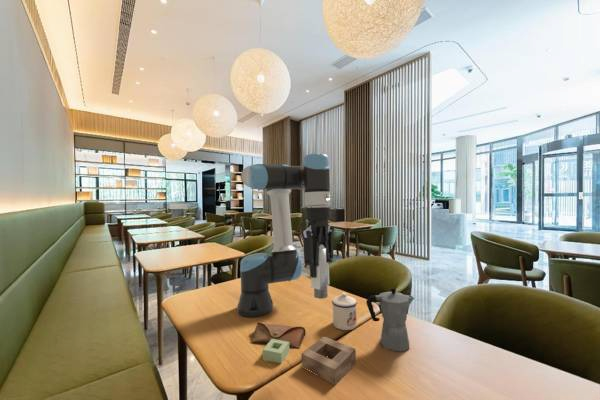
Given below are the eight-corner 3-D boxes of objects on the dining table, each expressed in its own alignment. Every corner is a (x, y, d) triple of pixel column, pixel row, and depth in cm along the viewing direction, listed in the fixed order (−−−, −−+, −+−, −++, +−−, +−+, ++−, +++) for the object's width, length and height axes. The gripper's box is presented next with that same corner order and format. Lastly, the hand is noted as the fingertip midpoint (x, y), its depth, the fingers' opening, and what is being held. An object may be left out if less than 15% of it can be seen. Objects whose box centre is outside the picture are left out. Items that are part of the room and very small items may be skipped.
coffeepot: (408, 334, 86) (407, 282, 86) (422, 351, 77) (421, 292, 77) (363, 336, 86) (362, 283, 86) (371, 353, 77) (370, 294, 76)
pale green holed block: (263, 359, 75) (262, 349, 75) (272, 348, 81) (271, 338, 81) (281, 363, 73) (281, 353, 73) (289, 351, 79) (289, 341, 79)
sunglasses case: (247, 343, 83) (251, 321, 87) (254, 343, 89) (257, 323, 92) (301, 349, 80) (302, 325, 83) (304, 348, 86) (306, 326, 89)
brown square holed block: (301, 367, 71) (301, 353, 71) (324, 348, 79) (323, 336, 79) (335, 385, 64) (334, 369, 64) (355, 362, 72) (355, 348, 72)
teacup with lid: (351, 333, 88) (350, 300, 88) (328, 326, 93) (327, 295, 93) (364, 319, 98) (363, 289, 97) (342, 313, 103) (341, 285, 103)
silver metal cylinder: (311, 296, 74) (309, 243, 75) (319, 292, 77) (317, 241, 78) (322, 299, 72) (320, 244, 72) (330, 295, 75) (328, 242, 75)
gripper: (310, 207, 66) (313, 297, 66) (343, 205, 79) (346, 280, 79) (288, 207, 71) (291, 291, 71) (323, 205, 84) (326, 276, 84)
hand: (320, 285), depth 75 cm, fingers closed on silver metal cylinder, 4 cm apart
